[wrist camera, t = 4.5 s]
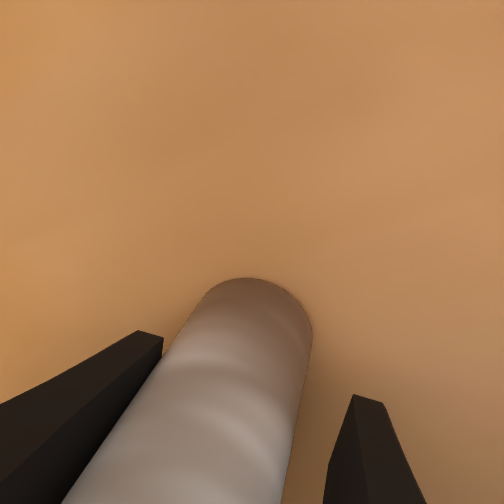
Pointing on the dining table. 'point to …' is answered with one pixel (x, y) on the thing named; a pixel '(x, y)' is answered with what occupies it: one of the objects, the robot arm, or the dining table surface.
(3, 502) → the robot arm
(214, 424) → the sliding frame
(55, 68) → the dining table surface
